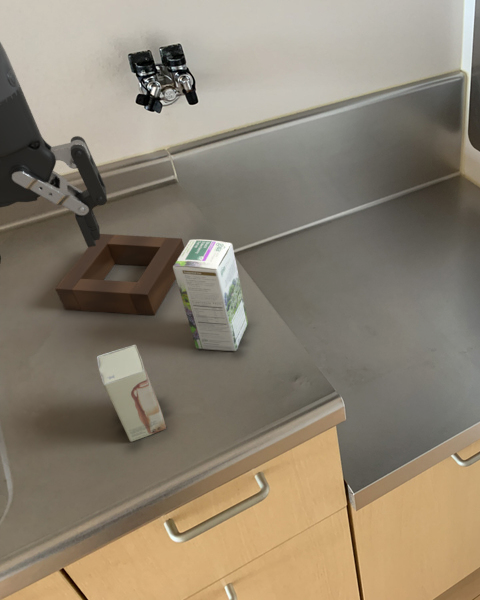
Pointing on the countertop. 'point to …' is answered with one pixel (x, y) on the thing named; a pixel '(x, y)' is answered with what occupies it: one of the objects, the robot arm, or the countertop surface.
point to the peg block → (119, 294)
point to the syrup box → (211, 294)
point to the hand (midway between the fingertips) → (45, 252)
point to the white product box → (131, 392)
